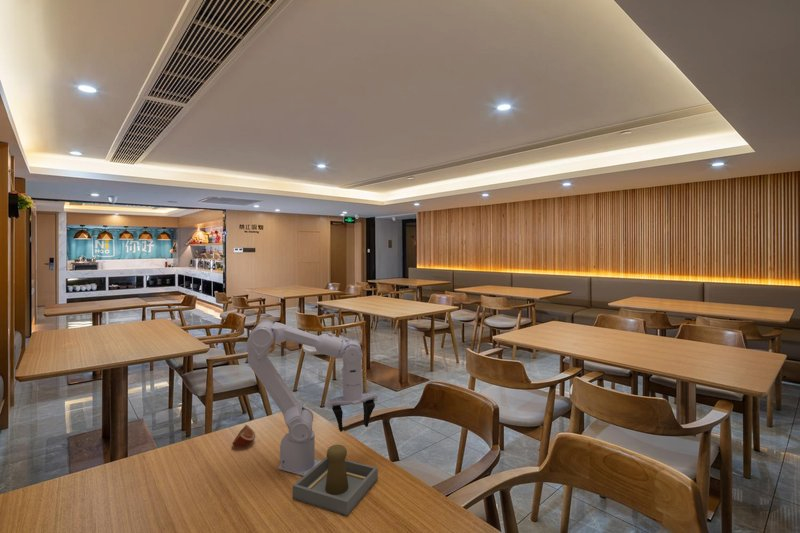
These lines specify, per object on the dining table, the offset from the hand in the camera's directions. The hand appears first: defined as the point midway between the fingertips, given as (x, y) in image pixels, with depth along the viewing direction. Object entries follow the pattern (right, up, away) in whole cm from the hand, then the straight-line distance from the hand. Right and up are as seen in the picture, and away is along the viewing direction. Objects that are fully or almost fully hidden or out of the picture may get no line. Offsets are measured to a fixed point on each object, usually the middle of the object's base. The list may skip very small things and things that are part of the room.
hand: (353, 427), depth 118 cm
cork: (-3, -11, -13) cm, 17 cm away
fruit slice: (-36, -10, +11) cm, 39 cm away
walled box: (-3, -11, -13) cm, 17 cm away
